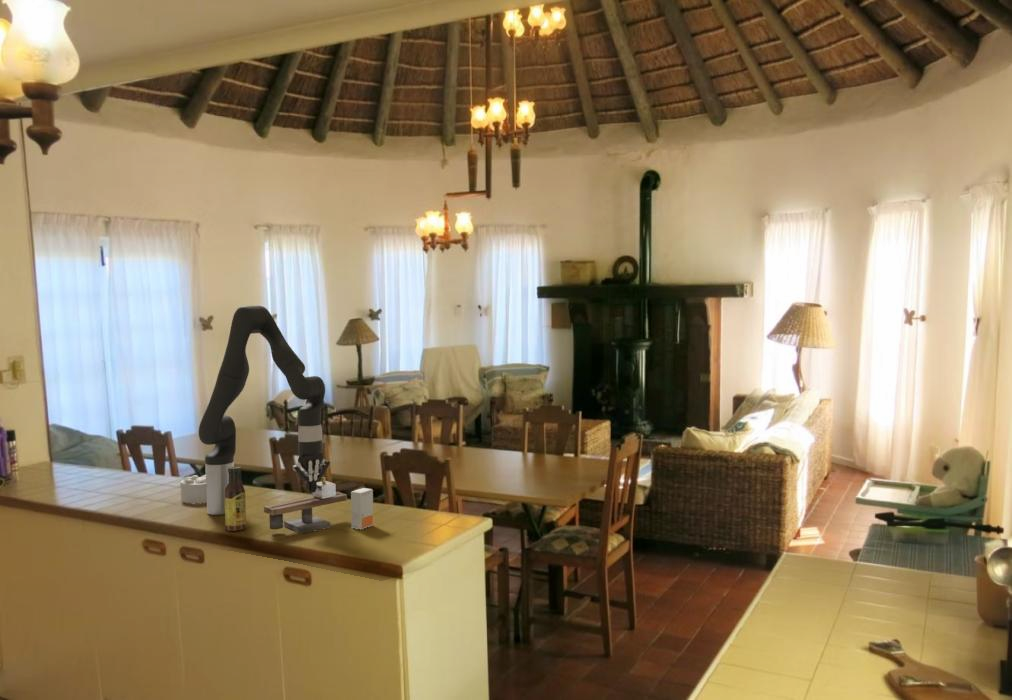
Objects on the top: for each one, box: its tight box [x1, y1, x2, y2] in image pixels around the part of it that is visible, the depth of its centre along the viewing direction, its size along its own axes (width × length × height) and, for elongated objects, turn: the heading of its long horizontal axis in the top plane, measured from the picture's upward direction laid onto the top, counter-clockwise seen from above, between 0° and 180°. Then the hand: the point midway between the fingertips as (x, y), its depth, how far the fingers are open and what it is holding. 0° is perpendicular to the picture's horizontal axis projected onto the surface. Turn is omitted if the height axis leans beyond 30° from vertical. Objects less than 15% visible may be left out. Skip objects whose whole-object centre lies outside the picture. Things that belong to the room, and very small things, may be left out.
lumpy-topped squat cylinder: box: [180, 474, 207, 505], centre depth 280 cm, size 10×13×9 cm
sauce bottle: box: [224, 466, 247, 532], centre depth 242 cm, size 6×6×20 cm
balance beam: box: [263, 491, 348, 535], centre depth 244 cm, size 12×26×9 cm, turn 133°
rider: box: [311, 476, 337, 499], centre depth 247 cm, size 6×5×8 cm
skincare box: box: [350, 487, 374, 531], centre depth 242 cm, size 6×4×12 cm
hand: (311, 491), depth 244 cm, fingers closed
